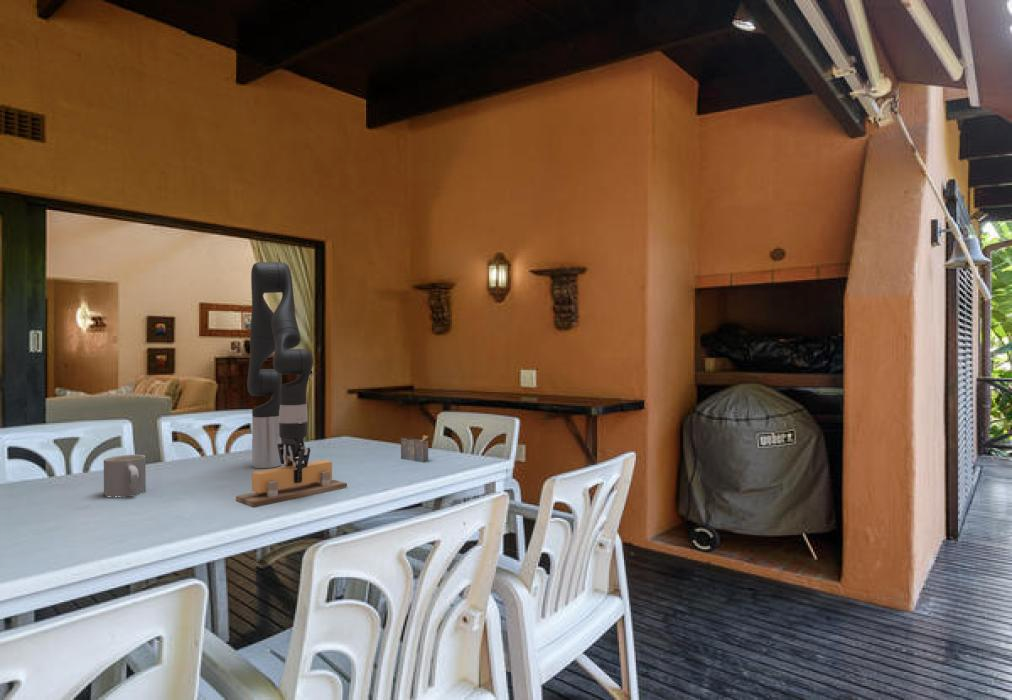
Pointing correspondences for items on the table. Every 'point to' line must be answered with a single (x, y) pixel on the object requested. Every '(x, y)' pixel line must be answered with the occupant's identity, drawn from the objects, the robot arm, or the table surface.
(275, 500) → the brown wooden bar holder
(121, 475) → the coffee mug
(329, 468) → the orange wooden bar
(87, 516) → the table surface
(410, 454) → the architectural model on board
